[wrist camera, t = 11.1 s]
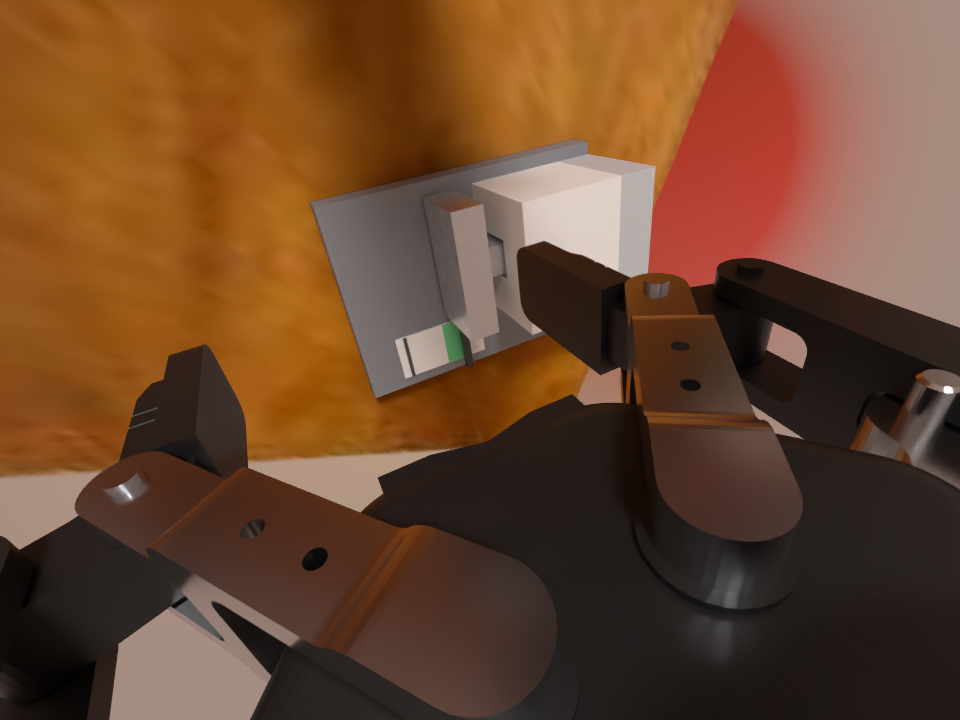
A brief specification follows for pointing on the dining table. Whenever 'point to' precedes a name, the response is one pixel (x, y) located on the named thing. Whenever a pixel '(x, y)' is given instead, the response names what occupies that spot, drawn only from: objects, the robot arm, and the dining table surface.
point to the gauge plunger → (465, 264)
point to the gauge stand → (508, 215)
